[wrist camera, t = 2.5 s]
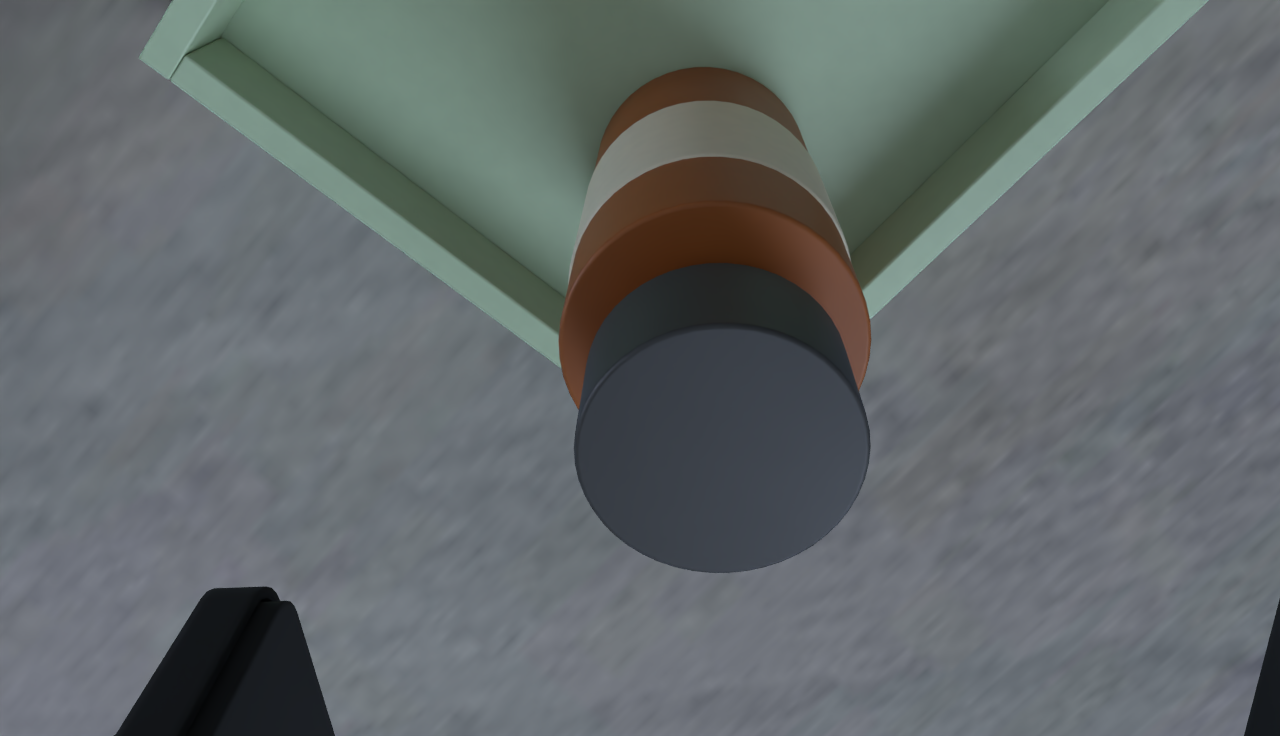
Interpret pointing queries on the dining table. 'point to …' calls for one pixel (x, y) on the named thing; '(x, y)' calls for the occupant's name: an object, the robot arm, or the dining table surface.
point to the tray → (613, 70)
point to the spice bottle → (714, 331)
